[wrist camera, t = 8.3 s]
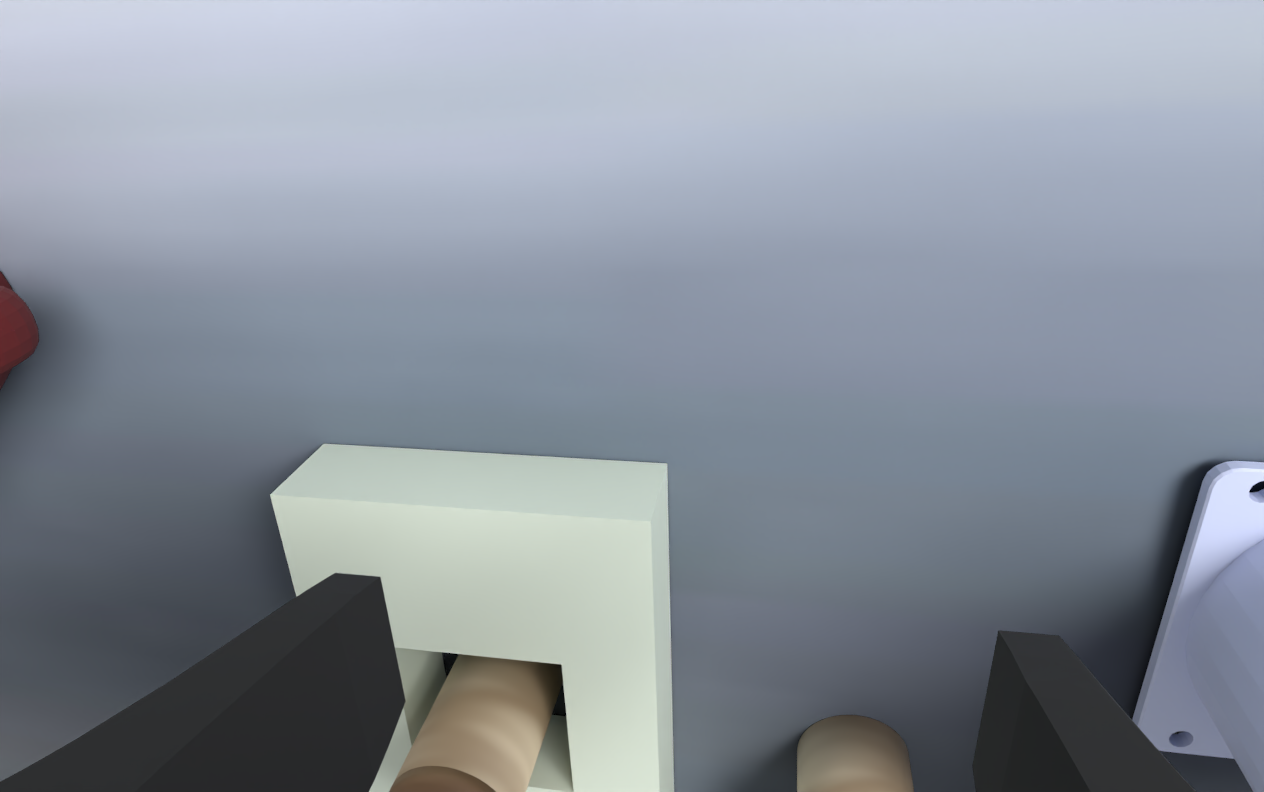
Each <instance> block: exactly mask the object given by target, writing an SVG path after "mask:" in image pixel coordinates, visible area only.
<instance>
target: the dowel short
mask: <svg viewBox="0 0 1264 792" xmlns="http://www.w3.org/2000/svg"><path fill="white" fill-rule="evenodd" d="M797 792H914V788H913V781H912V774H911V767H910V760H909V753H908V749H907V746H906V744H905V742H904V741H903V739H902V738H901V737H900V735H899V734H898V733H897V732H896V731H894V730H893V729H892V728H890V727H889V726H887V725H886V724H884V723H882V722H880V721H877V720H875V719H872V718H868V717H864V716H857V715H839V716H833V717H829V718H826V719H823V720H820V721H818V722H816V723H815V724H813V725H812V726H810V727H809V728H808V729H807V730H806V731H805V732H804V733H803V734H802V736H801V738H800V740H799V743H798V747H797Z"/></svg>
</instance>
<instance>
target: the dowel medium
mask: <svg viewBox="0 0 1264 792" xmlns="http://www.w3.org/2000/svg"><path fill="white" fill-rule="evenodd" d="M562 683H563V675H562V665H561V664H551V663H542V662H532V661H522V660H512V659H503V658H493V657H483V656H473V655H463V654H459V655H458V657H457V659H456V661H455V663H454V665H453V667H452V668H451V670H450V672H449V674H448V676H447V678H446V680H445V682H444V684H443V686H442V688H441V690H440V692H439V694H438V696H437V698H436V700H435V702H434V704H433V706H432V708H431V710H430V712H429V714H428V716H427V718H426V720H425V722H424V724H423V726H422V728H421V730H420V731H419V733H418V735H417V737H416V739H415V741H414V743H413V745H412V747H411V749H410V751H409V753H408V755H407V757H406V759H405V761H404V763H403V765H402V767H401V769H400V771H399V773H398V775H397V777H396V779H395V781H394V783H393V785H392V787H391V789H390V791H389V792H526V790H527V787H528V784H529V781H530V778H531V775H532V772H533V769H534V766H535V763H536V760H537V757H538V754H539V751H540V748H541V745H542V742H543V739H544V736H545V733H546V731H547V728H548V725H549V722H550V719H551V716H552V713H553V710H554V707H555V704H556V701H557V698H558V695H559V692H560V689H561V686H562Z"/></svg>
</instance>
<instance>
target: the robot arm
mask: <svg viewBox="0 0 1264 792" xmlns="http://www.w3.org/2000/svg"><path fill="white" fill-rule="evenodd" d="M1260 481H1264V462H1248V461H1229V462H1224V463H1221V464H1219V465H1216V466H1214V467H1213V468H1212V469H1211V470H1210V471H1208V472H1207V474H1206V476H1205V477H1204V479H1203V482H1202V485H1201V489H1200V492H1199V495H1198V499H1197V502H1196V505H1195V509H1194V512H1193V516H1192V519H1191V522H1190V526H1189V529H1188V533H1187V536H1186V539H1185V543H1184V546H1183V549H1182V553H1181V556H1180V560H1179V563H1178V566H1177V570H1176V573H1175V576H1174V580H1173V583H1172V587H1171V590H1170V593H1169V597H1168V600H1167V604H1166V607H1165V610H1164V614H1163V617H1162V620H1161V624H1160V627H1159V631H1158V634H1157V637H1156V641H1155V644H1154V647H1153V651H1152V654H1151V658H1150V661H1149V664H1148V668H1147V671H1146V675H1145V678H1144V681H1143V685H1142V688H1141V691H1140V695H1139V698H1138V702H1137V705H1136V708H1135V712H1134V715H1133V718H1132V719H1131V718H1130V717H1129V716H1128V715H1127V714H1126V713H1125V711H1124V710H1123V709H1122V708H1121V707H1120V706H1119V704H1118V703H1117V702H1116V701H1115V700H1114V699H1113V697H1112V696H1111V695H1110V694H1109V693H1108V692H1107V690H1106V689H1105V688H1104V687H1103V686H1102V685H1101V683H1100V682H1099V681H1098V680H1097V679H1096V678H1095V676H1094V675H1093V674H1092V673H1091V672H1090V671H1089V669H1088V668H1087V667H1086V666H1085V665H1084V664H1083V662H1082V661H1081V660H1080V659H1079V658H1078V657H1077V655H1076V654H1075V653H1074V652H1073V651H1072V650H1071V649H1070V648H1069V646H1068V645H1067V644H1066V643H1065V642H1064V641H1063V640H1062V639H1061V637H1060V636H1057V635H1045V634H1034V633H1022V632H1011V631H998V636H997V641H996V646H995V651H994V657H993V662H992V667H991V672H990V678H989V683H988V688H987V693H986V698H985V704H984V709H983V714H982V719H981V724H980V730H979V735H978V740H977V745H976V751H975V756H974V761H973V773H974V781H975V788H976V792H1196V791H1195V790H1194V789H1193V788H1192V786H1191V785H1190V784H1189V783H1188V782H1187V781H1186V780H1185V779H1184V778H1183V777H1182V776H1181V775H1180V773H1179V772H1178V771H1177V770H1176V769H1175V768H1174V767H1173V766H1172V765H1171V764H1170V762H1169V761H1168V760H1167V759H1166V758H1165V757H1164V756H1163V755H1162V754H1161V752H1160V751H1166V752H1175V753H1184V754H1194V755H1203V756H1212V757H1222V758H1231V759H1235V760H1236V762H1237V764H1238V766H1239V767H1240V769H1241V771H1242V773H1243V774H1244V776H1245V778H1246V780H1247V782H1248V783H1249V785H1250V787H1251V789H1252V790H1253V792H1264V489H1262V490H1260V491H1259V492H1252V493H1250V492H1249V491H1250V489H1251V488H1252V486H1253V485H1255V484H1256V483H1258V482H1260ZM405 702H406V700H405V695H404V690H403V685H402V680H401V676H400V671H399V666H398V661H397V656H396V651H395V646H394V641H393V636H392V631H391V626H390V621H389V616H388V611H387V606H386V602H385V597H384V592H383V587H382V582H381V577H378V576H367V575H355V574H344V573H334V574H332V575H331V576H329V577H327V578H326V579H324V580H322V581H321V582H319V583H317V584H316V585H314V586H313V587H311V588H309V589H308V590H306V591H305V592H303V593H302V594H300V595H299V596H297V597H296V598H294V599H293V600H291V601H290V602H288V603H287V604H285V605H284V606H282V607H281V608H279V609H278V610H276V611H275V612H273V613H272V614H270V615H269V616H267V617H266V618H264V619H263V620H261V621H260V622H258V623H257V624H255V625H254V626H252V627H251V628H249V629H248V630H246V631H245V632H243V633H242V634H240V635H239V636H237V637H236V638H234V639H233V640H231V641H230V642H228V643H227V644H225V645H224V646H222V647H221V648H219V649H218V650H216V651H215V652H213V653H212V654H210V655H209V656H207V657H206V658H204V659H203V660H201V661H200V662H198V663H197V664H195V665H194V666H192V667H191V668H189V669H188V670H186V671H185V672H183V673H182V674H180V675H179V676H177V677H176V678H174V679H173V680H171V681H170V682H168V683H166V684H165V685H163V686H162V687H160V688H158V689H157V690H155V691H154V692H152V693H150V694H149V695H147V696H145V697H144V698H142V699H141V700H139V701H137V702H136V703H134V704H132V705H131V706H129V707H128V708H126V709H124V710H123V711H121V712H120V713H118V714H116V715H115V716H113V717H111V718H110V719H108V720H107V721H105V722H103V723H102V724H100V725H99V726H97V727H95V728H94V729H92V730H90V731H89V732H87V733H86V734H84V735H82V736H81V737H79V738H78V739H76V740H74V741H72V742H71V743H69V744H67V745H66V746H64V747H62V748H60V749H59V750H57V751H55V752H53V753H52V754H50V755H48V756H46V757H45V758H43V759H41V760H39V761H38V762H36V763H34V764H32V765H30V766H29V767H27V768H25V769H23V770H22V771H20V772H18V773H16V774H14V775H12V776H10V777H9V778H7V779H5V780H3V781H1V782H0V792H369V790H370V788H371V786H372V784H373V782H374V780H375V778H376V776H377V773H378V771H379V768H380V766H381V764H382V761H383V759H384V756H385V754H386V752H387V749H388V747H389V744H390V742H391V739H392V736H393V734H394V731H395V728H396V726H397V723H398V720H399V718H400V715H401V712H402V710H403V707H404V704H405ZM1178 731H1184V732H1181V733H1179V734H1173V733H1175V732H1178Z"/></svg>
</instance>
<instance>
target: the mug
mask: <svg viewBox="0 0 1264 792" xmlns="http://www.w3.org/2000/svg"><path fill="white" fill-rule="evenodd" d="M38 342H39V335H38V327H37V324H36V322H35V319H34V316H33V314H32V313H31V311H30V310H29V308H28V306H27V305H26V303H25V302H24V301H23V300H22V299H21V298H20V297H19V296H18V295H17V294H16V293H15V292H14V291H13V290H12V288H11V286H10V285H9V283H8V282H7V280H6V279H5V277H4V276H3V274H2V273H1V272H0V390H1V388H2V386H3V384H4V383H5V381H6V379H7V377H8V375H9V373H10V371H11V369H12V368H13V367H14V366H16V365H18V364H19V363H21V362H22V361H24V360H25V359H27V358H28V357H29V356H31V355H32V354H33V353H34V351H35V349H36V347H37V345H38Z"/></svg>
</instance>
